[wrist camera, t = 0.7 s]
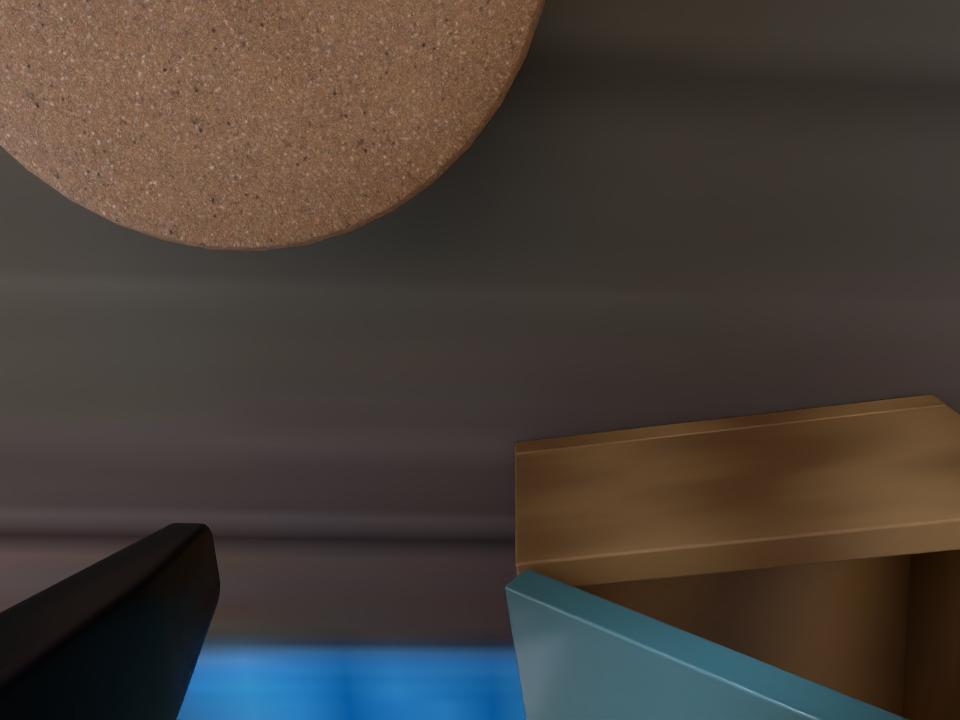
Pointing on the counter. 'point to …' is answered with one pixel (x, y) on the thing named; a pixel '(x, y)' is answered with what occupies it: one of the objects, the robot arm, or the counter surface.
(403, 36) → the trinket box
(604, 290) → the counter surface
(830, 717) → the lid
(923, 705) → the toy box
